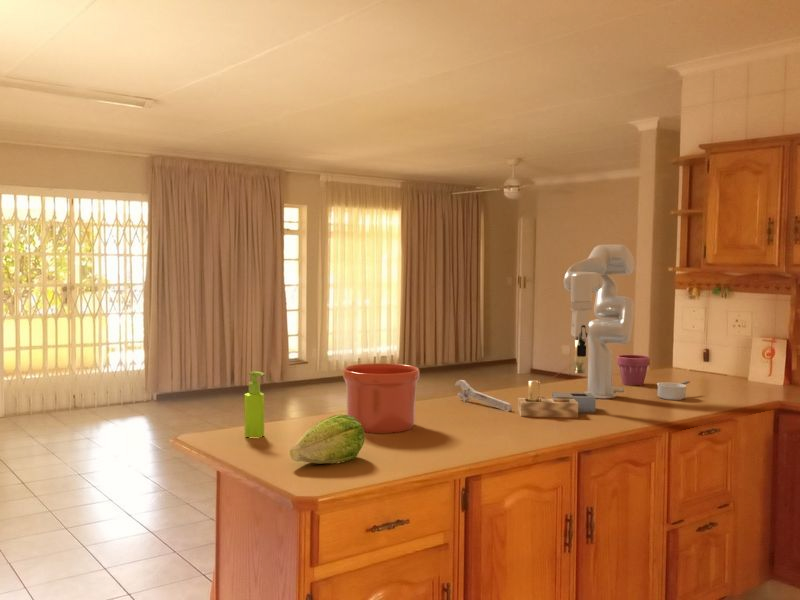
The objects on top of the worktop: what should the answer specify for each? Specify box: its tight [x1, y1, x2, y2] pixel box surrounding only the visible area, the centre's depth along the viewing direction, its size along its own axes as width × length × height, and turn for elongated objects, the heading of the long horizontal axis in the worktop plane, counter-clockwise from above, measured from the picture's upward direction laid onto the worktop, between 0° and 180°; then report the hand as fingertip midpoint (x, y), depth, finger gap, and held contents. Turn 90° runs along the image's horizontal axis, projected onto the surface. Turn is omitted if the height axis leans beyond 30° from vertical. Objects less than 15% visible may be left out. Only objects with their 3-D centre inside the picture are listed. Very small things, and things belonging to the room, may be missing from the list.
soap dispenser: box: [244, 371, 267, 437], centre depth 217 cm, size 6×7×20 cm
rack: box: [517, 397, 579, 418], centre depth 255 cm, size 20×8×5 cm, turn 87°
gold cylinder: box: [573, 339, 587, 374], centre depth 263 cm, size 4×4×12 cm
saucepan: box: [656, 380, 691, 401], centre depth 292 cm, size 12×20×6 cm, turn 132°
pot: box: [342, 362, 420, 434], centre depth 233 cm, size 25×25×19 cm
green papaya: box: [289, 414, 365, 465], centre depth 190 cm, size 13×22×14 cm
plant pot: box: [616, 354, 651, 386], centre depth 322 cm, size 14×14×13 cm
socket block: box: [551, 391, 597, 414], centre depth 264 cm, size 14×10×6 cm
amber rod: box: [527, 379, 541, 402], centre depth 255 cm, size 4×4×12 cm
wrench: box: [454, 379, 513, 413], centre depth 271 cm, size 8×2×30 cm
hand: (580, 355), depth 263 cm, fingers closed on gold cylinder, 4 cm apart
